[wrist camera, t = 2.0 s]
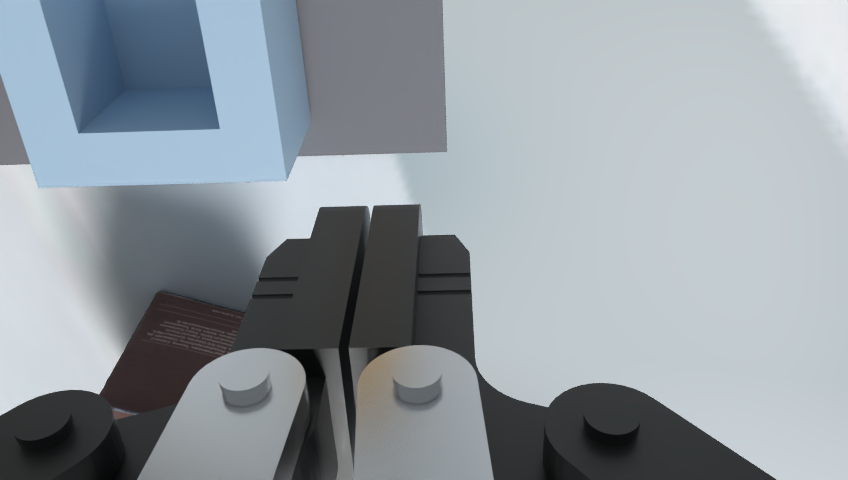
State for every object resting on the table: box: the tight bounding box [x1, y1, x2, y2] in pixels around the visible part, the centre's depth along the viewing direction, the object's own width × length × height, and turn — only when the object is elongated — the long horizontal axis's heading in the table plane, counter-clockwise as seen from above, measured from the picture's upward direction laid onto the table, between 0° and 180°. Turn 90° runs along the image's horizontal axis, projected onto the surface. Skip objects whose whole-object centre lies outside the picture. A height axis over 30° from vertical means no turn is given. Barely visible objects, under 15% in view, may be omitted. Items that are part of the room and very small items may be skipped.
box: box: [99, 292, 245, 419], centre depth 32 cm, size 6×6×7 cm
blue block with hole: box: [0, 0, 311, 188], centre depth 24 cm, size 8×8×5 cm
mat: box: [0, 0, 447, 165], centre depth 27 cm, size 20×11×1 cm, turn 92°
